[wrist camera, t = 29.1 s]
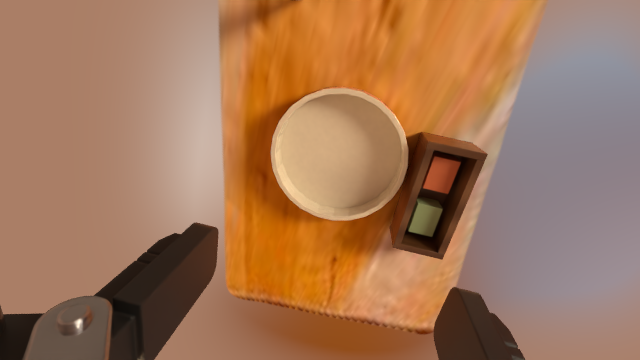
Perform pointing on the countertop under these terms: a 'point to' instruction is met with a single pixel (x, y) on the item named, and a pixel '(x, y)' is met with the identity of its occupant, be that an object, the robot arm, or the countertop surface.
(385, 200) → the bowl
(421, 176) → the holder
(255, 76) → the countertop surface
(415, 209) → the green block
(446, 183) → the orange rectangular block
